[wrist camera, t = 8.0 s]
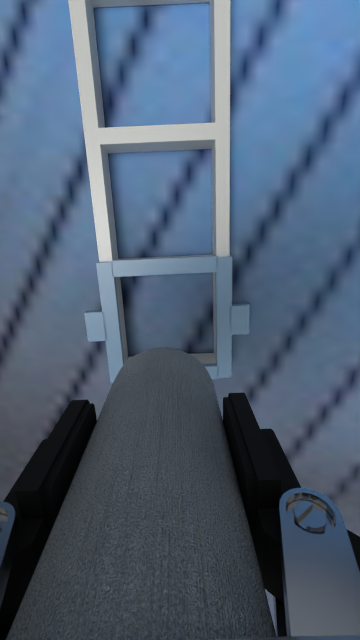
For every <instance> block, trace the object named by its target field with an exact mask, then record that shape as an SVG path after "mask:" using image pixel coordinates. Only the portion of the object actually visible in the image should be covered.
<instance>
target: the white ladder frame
mask: <svg viewBox="0 0 360 640" xmlns="http://www.w3.org/2000/svg"><path fill="white" fill-rule="evenodd" d="M187 3H209V9H210V89H211V123H198V124H175V125H153V126H131V127H109V128H105V120H104V110H103V100H102V90H101V80H100V70H99V60H98V50H97V40H96V30H95V20H94V10H93V8H96V7H119V6H142V5H164V4H187ZM69 9H70V17H71V26H72V34H73V43H74V51H75V60H76V68H77V76H78V85H79V93H80V102H81V110H82V119H83V127H84V136H85V144H86V153H87V161H88V170H89V178H90V186H91V195H92V203H93V212H94V220H95V229H96V237H97V246H98V254H99V262H97V263H96V266H97V274H98V282H99V291H100V299H101V307H102V310H95V311H86V312H85V313H84V315H85V322H86V329H87V336H88V342H89V341H106V348H107V356H108V365H109V373H110V381H111V383H113V382H114V380H115V378H116V376H117V374H118V372H119V371H120V369H121V368H122V366H123V365H124V364H125V363H126V362H127V361H128V360H129V359H131V358H132V357H128V349H127V339H126V329H125V319H124V309H123V299H122V289H121V279H120V277H123V276H145V275H166V274H188V273H210V272H213V326H214V353H199V354H190V355H192V356H193V357H195V358H196V359H197V360H199V361H200V362H201V363H202V364H203V365H204V367H205V368H206V369H207V371H208V373H209V375H210V377H211V379H219V378H230V377H232V335H240V334H249V316H250V305H249V304H248V303H247V304H232V256H229V252H230V0H69ZM199 149H211V168H212V247H213V255H191V256H169V257H147V258H125V259H118V250H117V240H116V230H115V220H114V210H113V200H112V190H111V180H110V170H109V160H108V154H110V153H132V152H155V151H177V150H199Z"/></svg>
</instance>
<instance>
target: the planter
mask: <svg viewBox="0 0 360 640" xmlns="http://www.w3.org/2000/svg"><path fill="white" fill-rule="evenodd" d="M266 637H276V633H275V629H274V625H273V621H272V617H271V613H270V609H269V605H268V601H267V596H266V592H265V588H264V584H263V580H262V576H261V572H260V568H259V564H258V560H257V556H256V552H255V548H254V544H253V540H252V536H251V532H250V528H249V524H248V520H247V516H246V512H245V508H244V504H243V500H242V496H241V492H240V488H239V484H238V480H237V476H236V472H235V468H234V464H233V460H232V456H231V452H230V448H229V444H228V440H227V436H226V432H225V428H224V424H223V420H222V416H221V412H220V408H219V404H218V400H217V396H216V392H215V388H214V385H213V382H212V379H211V377H210V375H209V373H208V371H207V369H206V368H205V367H204V365H203V364H202V363H201V362H200V361H199V360H197V359H196V358H195V357H193V356H192V355H190V354H188V353H186V352H184V351H181V350H178V349H173V348H153V349H149V350H146V351H143V352H140V353H138V354H137V355H135V356H133V357H132V358H131V359H129V360H128V361H127V362H126V363H125V364H124V365H123V366H122V368H121V369H120V371H119V372H118V374H117V376H116V378H115V380H114V382H113V384H112V387H111V389H110V392H109V394H108V396H107V399H106V401H105V403H104V406H103V408H102V411H101V413H100V415H99V418H98V420H97V423H96V425H95V427H94V430H93V432H92V435H91V437H90V439H89V442H88V444H87V447H86V449H85V451H84V454H83V456H82V459H81V461H80V463H79V466H78V468H77V471H76V473H75V475H74V478H73V480H72V483H71V485H70V487H69V490H68V492H67V494H66V497H65V499H64V502H63V504H62V506H61V509H60V511H59V514H58V516H57V518H56V521H55V523H54V526H53V528H52V530H51V533H50V535H49V538H48V540H47V542H46V545H45V547H44V550H43V552H42V554H41V557H40V559H39V562H38V564H37V566H36V569H35V571H34V574H33V576H32V578H31V581H30V583H29V585H28V588H27V590H26V593H25V595H24V597H23V600H22V602H21V605H20V607H19V609H18V612H17V614H16V617H15V619H14V621H13V624H12V626H11V629H10V631H9V633H8V636H7V638H6V640H214V639H240V638H266Z"/></svg>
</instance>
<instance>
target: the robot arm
mask: <svg viewBox="0 0 360 640" xmlns="http://www.w3.org/2000/svg"><path fill="white" fill-rule="evenodd" d="M96 423H97V420H96V413H95V406H94V404H90V403H89V401H88V400H72V401H71V402H70V403H69V405H68V407H67V408H66V410H65V411H64V413H63V415H62V416H61V418H60V419H59V421H58V423H57V424H56V426H55V428H54V429H53V431H52V432H51V434H50V436H49V437H48V439H45V440H43V441H42V442H41V444H40V445H39V447H38V448H37V450H36V451H35V453H34V455H33V456H32V458H31V459H30V461H29V462H28V464H27V465H26V467H25V469H24V470H23V472H22V473H21V475H20V476H19V478H18V480H17V481H16V483H15V484H14V486H13V487H12V489H11V490H10V492H9V494H8V495H7V497H6V498H5V500H4V501H3V502H2V501H0V640H6V638H7V636H8V633H9V631H10V629H11V626H12V624H13V621H14V619H15V617H16V614H17V612H18V609H19V607H20V605H21V602H22V600H23V597H24V595H25V593H26V590H27V588H28V585H29V583H30V581H31V578H32V576H33V574H34V571H35V569H36V566H37V564H38V562H39V559H40V557H41V554H42V552H43V550H44V547H45V545H46V542H47V540H48V538H49V535H50V533H51V530H52V528H53V526H54V523H55V521H56V518H57V516H58V514H59V511H60V509H61V506H62V504H63V502H64V499H65V497H66V494H67V492H68V490H69V487H70V485H71V483H72V480H73V478H74V475H75V473H76V471H77V468H78V466H79V463H80V461H81V459H82V456H83V454H84V451H85V449H86V447H87V444H88V442H89V439H90V437H91V435H92V432H93V430H94V427H95V425H96ZM223 424H224V428H225V432H226V436H227V440H228V444H229V448H230V452H231V456H232V460H233V464H234V468H235V472H236V476H237V480H238V484H239V488H240V492H241V496H242V500H243V504H244V508H245V512H246V516H247V520H248V524H249V528H250V532H251V536H252V540H253V544H254V548H255V552H256V556H257V560H258V564H259V568H260V572H261V576H262V580H263V584H264V588H265V589H266V590H267V591H268V592H270V593H271V594H272V595H273V600H274V619H275V633H276V637H266V638H240V639H214V640H360V537H359V536H357V535H356V534H354V533H352V532H351V531H349V530H347V529H346V526H345V523H344V520H343V517H342V515H341V513H340V511H339V509H338V508H337V506H336V505H335V504H334V503H333V502H332V501H331V500H330V499H329V498H327V497H326V496H325V495H323V494H321V493H319V492H317V491H315V490H311V489H307V488H301V486H300V484H299V482H298V480H297V478H296V476H295V474H294V472H293V470H292V468H291V466H290V464H289V462H288V460H287V458H286V456H285V454H284V452H283V450H282V447H281V445H280V443H279V441H278V439H277V437H276V435H275V433H274V431H273V430H272V429H260V428H259V426H258V423H257V421H256V418H255V416H254V414H253V411H252V409H251V407H250V404H249V402H248V400H247V397H246V395H245V393H229V395H228V397H225V398H223Z"/></svg>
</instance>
